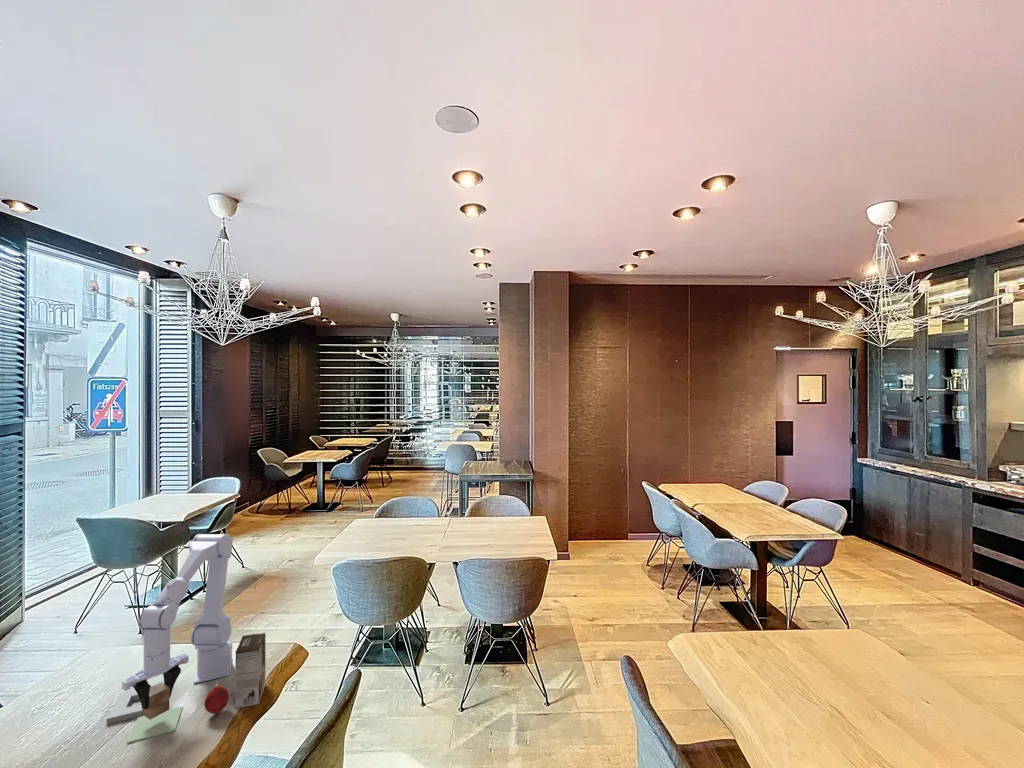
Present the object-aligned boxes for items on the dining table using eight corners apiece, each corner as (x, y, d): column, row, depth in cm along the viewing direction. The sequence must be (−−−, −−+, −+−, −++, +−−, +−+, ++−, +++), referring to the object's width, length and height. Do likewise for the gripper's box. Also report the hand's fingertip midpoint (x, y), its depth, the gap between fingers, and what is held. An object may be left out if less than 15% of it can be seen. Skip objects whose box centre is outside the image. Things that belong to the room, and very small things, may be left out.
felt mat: (182, 707, 131) (182, 706, 131) (175, 731, 122) (175, 729, 122) (138, 718, 127) (138, 717, 127) (127, 743, 118) (127, 742, 118)
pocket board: (170, 686, 140) (170, 681, 140) (161, 710, 130) (161, 705, 130) (120, 697, 135) (120, 692, 135) (106, 724, 124) (106, 718, 124)
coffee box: (242, 689, 139) (242, 635, 139) (266, 685, 141) (266, 631, 141) (234, 709, 130) (234, 651, 131) (259, 704, 132) (260, 647, 133)
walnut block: (161, 704, 128) (161, 682, 128) (169, 709, 125) (169, 687, 125) (141, 713, 124) (142, 691, 124) (149, 719, 121) (149, 696, 121)
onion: (233, 709, 130) (234, 680, 131) (214, 722, 125) (215, 693, 125) (218, 704, 132) (218, 676, 132) (199, 717, 127) (199, 688, 127)
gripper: (179, 634, 133) (179, 682, 133) (117, 660, 120) (116, 713, 120) (192, 641, 129) (192, 690, 129) (129, 668, 117) (128, 722, 117)
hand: (156, 702), depth 124 cm, fingers closed on walnut block, 4 cm apart
